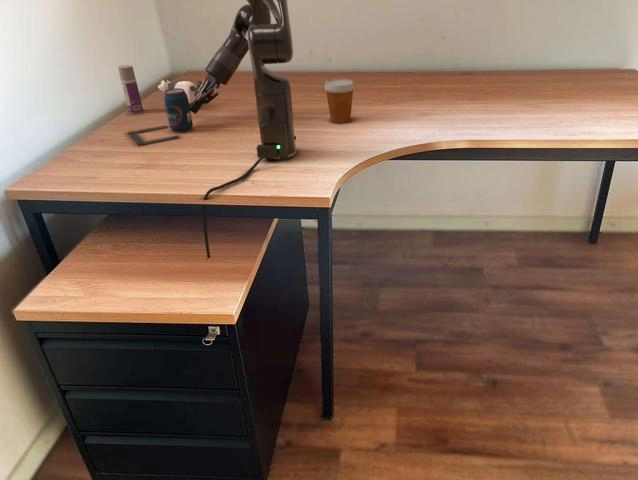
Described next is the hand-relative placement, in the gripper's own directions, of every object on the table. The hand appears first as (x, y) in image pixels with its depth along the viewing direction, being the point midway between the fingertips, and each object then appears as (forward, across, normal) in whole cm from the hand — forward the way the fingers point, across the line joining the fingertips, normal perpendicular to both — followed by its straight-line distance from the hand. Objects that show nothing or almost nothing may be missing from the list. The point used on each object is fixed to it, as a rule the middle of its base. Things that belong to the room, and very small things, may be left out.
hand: (192, 111), depth 169 cm
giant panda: (+1, -25, +6) cm, 26 cm away
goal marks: (+12, 0, -5) cm, 13 cm away
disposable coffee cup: (-26, +21, +33) cm, 46 cm away
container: (+12, -28, -4) cm, 31 cm away
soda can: (+7, 0, +1) cm, 7 cm away
